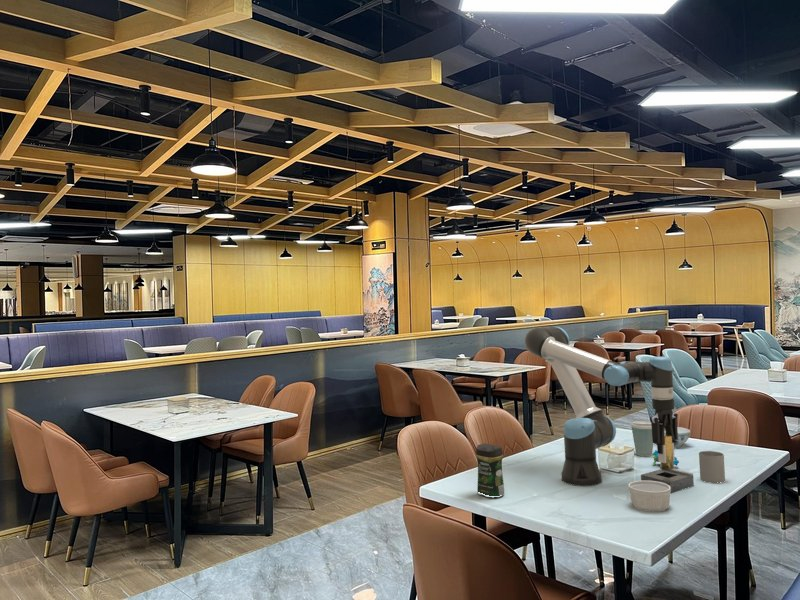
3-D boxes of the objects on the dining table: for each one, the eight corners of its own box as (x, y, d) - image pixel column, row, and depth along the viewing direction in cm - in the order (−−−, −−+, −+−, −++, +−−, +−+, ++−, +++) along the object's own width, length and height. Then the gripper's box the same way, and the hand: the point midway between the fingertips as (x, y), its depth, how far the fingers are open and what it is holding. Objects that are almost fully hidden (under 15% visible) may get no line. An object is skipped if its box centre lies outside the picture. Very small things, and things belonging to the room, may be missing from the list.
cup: (711, 484, 215) (710, 457, 216) (695, 478, 223) (693, 452, 224) (730, 481, 218) (729, 454, 218) (713, 475, 226) (711, 450, 226)
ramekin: (622, 507, 195) (621, 486, 195) (639, 497, 204) (638, 477, 205) (662, 516, 186) (661, 494, 186) (678, 505, 195) (677, 484, 195)
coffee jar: (473, 495, 214) (471, 444, 215) (487, 490, 220) (485, 440, 220) (494, 500, 207) (492, 448, 208) (508, 495, 213) (505, 444, 213)
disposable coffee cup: (628, 452, 266) (626, 419, 267) (652, 451, 266) (650, 419, 266) (636, 458, 256) (635, 424, 256) (661, 457, 255) (660, 423, 256)
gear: (684, 464, 238) (669, 448, 236) (679, 476, 235) (663, 460, 233) (662, 462, 248) (647, 447, 246) (657, 473, 245) (642, 459, 243)
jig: (670, 493, 207) (669, 480, 207) (641, 485, 217) (640, 473, 218) (693, 485, 214) (693, 473, 214) (664, 478, 225) (663, 466, 225)
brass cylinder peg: (668, 470, 213) (666, 437, 213) (658, 468, 217) (656, 435, 217) (676, 468, 215) (674, 435, 215) (665, 466, 219) (663, 434, 219)
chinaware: (665, 441, 285) (664, 425, 285) (696, 445, 274) (695, 429, 274) (650, 446, 276) (649, 430, 276) (682, 451, 264) (681, 434, 264)
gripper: (657, 402, 209) (661, 467, 208) (686, 396, 218) (690, 459, 217) (639, 399, 215) (642, 463, 215) (668, 394, 224) (671, 455, 224)
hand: (666, 460), depth 216 cm, fingers closed on brass cylinder peg, 4 cm apart
